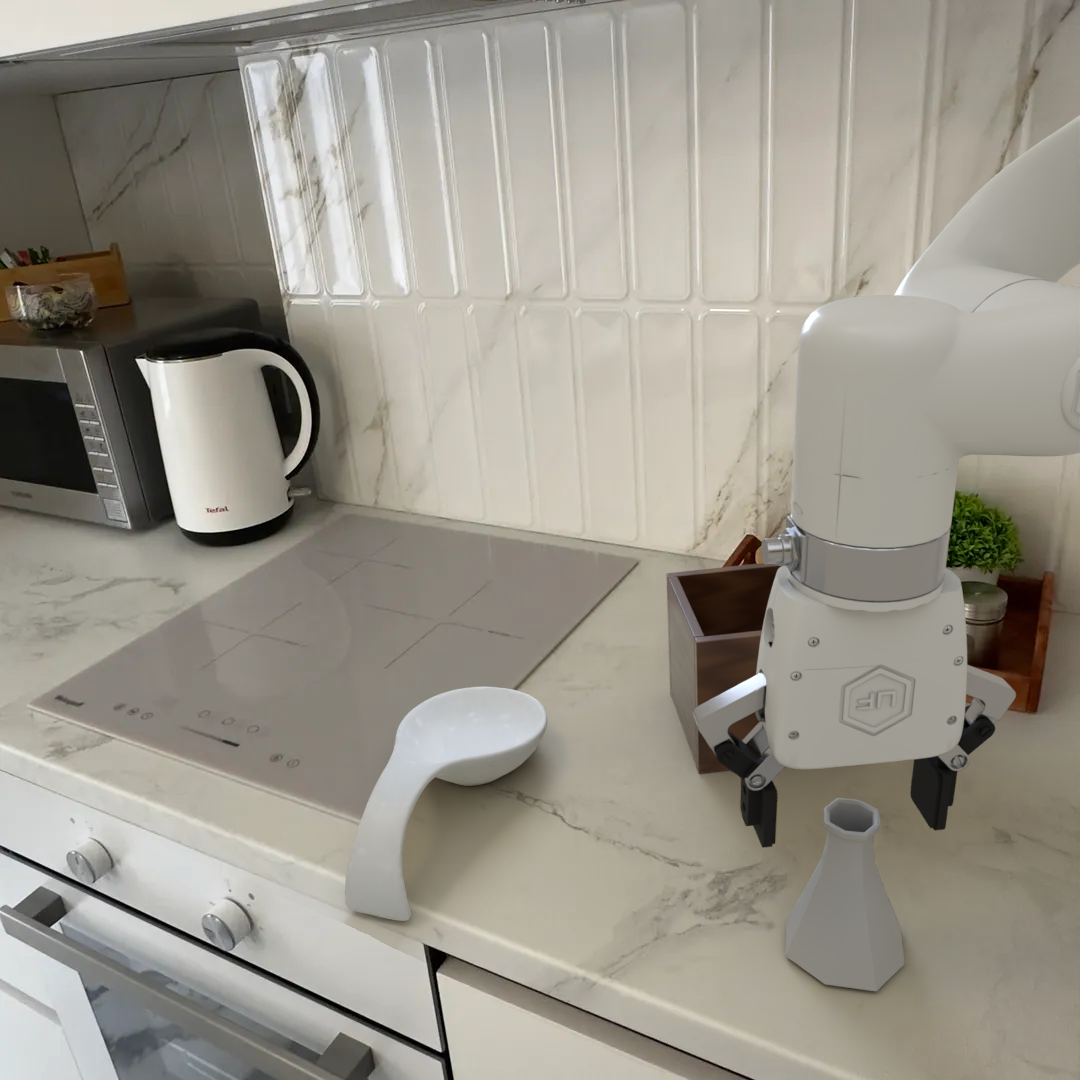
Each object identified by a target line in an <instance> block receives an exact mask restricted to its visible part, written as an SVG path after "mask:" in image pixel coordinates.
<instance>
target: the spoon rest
mask: <svg viewBox="0 0 1080 1080" xmlns="http://www.w3.org/2000/svg"><path fill="white" fill-rule="evenodd" d="M547 726H548V714H547V711H546V709H545V707H544V706H543V704H542V703H541V702H540V701H539V700H538V699H536V698H535V697H534V696H533V695H530V694H527V693H525V692H523V691H519V690H516V689H511V688H505V687H495V686H472V687H471V686H469V687H464V688H463V687H461V688H457V689H452V690H449V691H446V692H441V693H439V694H435V696H432V697H430V698H428V699H425V700H424V701H422V702H421V703H419V704H417V705H416V706H415V707H414V708H412V709H411V710H410V711H409V712H407V714H406V715H405V716H404V717H403V718H402V720H401V722H400V723H399V725H398V727H397V730H396V734H395V739H394V743H393V745H394V746H393V751H392V753H391V756H390V758H389V760H388V762H387V764H386V766H385V767H384V769H383V770H382V772H381V774H380V775H379V777H378V779H377V781H376V783H375V785H374V787H373V789H372V791H371V794H370V796H369V798H368V800H367V803H366V806H365V807H364V810H363V813H362V816H361V818H360V821H359V824H358V828H357V830H356V833H355V837H354V839H353V842H352V846H351V851H350V854H349V859H348V864H347V869H346V874H345V875H346V876H345V887H344V900H345V905H346V908H347V909H349V910H350V911H353V912H356V913H357V912H358V913H360V914H366V915H369V916H370V915H371V916H374V917H378V918H383V919H386V920H392V921H399V922H406V921H407V922H408V921H409V920H410V919H411V917H412V913H411V908H410V902H409V899H408V893H407V889H406V885H405V878H404V872H403V871H404V870H403V848H404V840H405V836H406V835H405V834H406V831H407V827H408V825H409V821H410V818H411V815H412V814H413V811H414V809H415V806H416V804H417V802H418V800H419V798H420V797H421V795H422V793H423V791H424V790H425V789H426V787H428V785H429V784H430V783H431V782H432V781H433V780H434V779H435V778H437V779H440V780H442V781H445V782H448V783H452V784H456V785H459V786H464V787H465V786H466V787H467V786H471V787H473V786H481V785H485V784H490V783H491V782H494V781H496V780H498V779H500V778H502V777H503V776H506V775H508V774H509V773H511V772H513V771H514V770H516V769H517V768H518V767H520V766H521V765H522V764H524V763H525V762H526V760H528V759H529V758H530V757H531V756H532V754H533V753H534V752H535V751H536V750H537V748H538V747H539V745H540V743H541V741H542V740H543V738H544V734H545V732H546V729H547Z"/></svg>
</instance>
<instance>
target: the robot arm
mask: <svg viewBox="0 0 1080 1080" xmlns="http://www.w3.org/2000/svg"><path fill="white" fill-rule="evenodd" d="M1078 265H1080V114H1079V115H1077V116H1076V117H1074V118H1073V119H1072V120H1070V121H1069V122H1067V123H1066V124H1065V125H1063V126H1062V127H1060V128H1058V129H1057V130H1056V131H1054V132H1053V133H1051V134H1049V135H1047V136H1046V137H1045V138H1043V139H1042V140H1041V141H1039V142H1038V143H1037V144H1035V145H1033V146H1031V147H1030V148H1029V149H1027V150H1026V151H1025V152H1023V153H1022V154H1021V155H1019V156H1018V157H1017V158H1015V159H1014V160H1012V161H1011V162H1010V163H1008V164H1007V165H1006V166H1004V167H1003V169H1001V170H1000V171H999V172H997V173H996V174H995V175H994V176H993V177H991V178H990V179H989V180H988V181H987V182H986V183H984V185H982V187H981V188H979V189H978V190H977V191H976V192H975V193H974V194H973V195H972V196H971V197H970V198H969V200H968V201H966V203H965V204H964V205H963V206H962V207H961V208H960V209H959V210H958V211H957V213H956V214H955V215H954V216H953V218H951V220H950V221H949V222H948V223H947V224H946V225H945V227H944V228H943V229H942V230H941V231H940V233H939V234H938V235H937V236H936V237H935V239H934V240H933V241H932V242H931V244H929V246H927V248H926V249H925V250H924V251H923V253H921V255H920V257H918V259H917V260H916V261H915V263H914V264H913V265H912V267H911V268H910V269H909V270H908V272H907V273H906V275H905V276H904V278H903V279H902V280H901V282H900V284H899V286H898V287H897V289H896V290H895V292H894V294H877V295H875V294H874V295H861V296H852V297H846V298H841V299H837V300H834V301H833V300H832V301H830V302H828V303H825V304H823V305H821V306H819V307H817V308H815V310H813V311H812V312H811V313H810V314H809V315H808V316H807V318H806V319H805V320H804V322H803V324H802V327H801V329H800V334H799V337H798V338H799V339H798V340H799V341H798V350H797V368H796V389H795V409H794V410H795V412H794V434H793V436H794V437H793V455H792V476H791V478H792V479H791V497H790V498H791V499H790V501H791V502H790V515H786V517H785V528H784V530H783V532H782V533H781V534H777V535H776V536H775V537H767V538H766V537H765V538H763V539H761V546H760V549H761V551H760V552H761V558H762V561H763V562H762V563H765V564H766V565H771V564H779V565H780V566H782V567H780V568H779V569H778V571H777V573H776V576H775V579H774V582H773V586H772V589H771V593H770V596H769V600H768V604H767V608H766V613H765V617H764V622H763V628H762V633H761V639H760V646H759V654H758V661H757V671H756V675H755V676H753V677H751V678H750V679H748V680H746V681H744V682H742V683H740V684H738V685H736V686H735V687H733V688H731V689H729V690H727V691H725V692H723V693H721V694H720V695H718V696H716V697H714V698H712V699H710V700H708V701H706V702H705V703H703V704H701V705H699V706H697V707H696V708H695V709H694V711H693V716H694V719H695V722H696V724H697V727H698V730H699V731H700V733H701V734H702V736H703V737H704V739H705V740H706V742H707V743H708V745H709V746H710V748H711V749H712V750H713V752H714V754H715V755H716V757H717V759H718V761H719V762H720V763H721V764H723V765H724V766H725V767H727V768H728V769H729V770H728V771H730V772H732V773H734V775H736V776H737V777H739V778H740V797H739V801H740V803H739V807H740V814H741V818H742V821H743V824H744V826H745V827H753V828H754V831H755V834H756V836H757V838H758V841H759V844H760V846H761V848H773V845H775V844H776V838H777V820H778V819H777V818H778V797H779V796H778V790H777V787H776V785H775V784H774V781H773V779H775V778H776V776H777V775H778V774H780V773H781V772H782V771H783V769H785V767H786V768H789V769H794V770H821V769H833V768H842V767H843V768H844V767H853V766H854V767H855V766H862V765H863V766H865V765H873V764H885V763H893V762H894V763H895V762H904V761H913V766H912V772H911V773H912V774H911V782H910V784H911V785H910V792H909V795H910V799H911V801H912V802H913V804H914V805H915V807H916V809H917V810H918V812H919V813H920V815H921V816H922V818H923V820H924V821H925V823H926V824H927V826H928V827H929V829H933V831H943V830H945V829H946V826H947V818H948V811H949V807H952V806H953V805H954V799H955V792H956V785H957V779H958V778H957V777H958V772H959V771H963V770H965V769H966V768H967V767H968V766H969V764H970V761H971V760H970V759H971V758H970V756H969V755H971V754H972V753H973V752H974V751H975V750H977V749H978V748H979V747H980V746H982V745H983V744H984V743H985V742H986V741H987V740H988V739H989V738H991V737H992V736H993V735H994V733H995V731H996V725H995V724H996V723H997V721H999V722H1000V720H1002V718H1003V716H1004V715H1005V714H1006V712H1007V711H1008V709H1009V708H1010V707H1011V705H1012V704H1013V702H1014V701H1015V699H1016V698H1017V693H1016V691H1015V689H1014V688H1013V687H1012V686H1011V685H1010V684H1009V683H1008V682H1007V681H1006V680H1005V679H1004V678H1002V677H1001V676H998V675H996V674H993V673H991V672H988V671H985V670H983V669H980V668H978V667H974V666H972V665H969V664H968V638H967V636H968V635H967V623H966V610H965V609H966V608H965V600H964V593H963V587H962V581H961V578H960V577H959V576H958V575H957V573H954V572H953V571H952V570H950V569H949V568H948V567H947V563H948V562H947V560H948V555H949V554H948V553H949V544H950V537H951V536H950V535H951V529H952V528H951V527H952V522H953V521H952V520H953V513H954V505H955V504H954V503H955V495H956V488H957V487H956V486H957V478H958V470H959V461H960V460H961V459H963V458H964V457H966V456H970V455H971V456H972V455H976V456H978V455H979V456H980V455H982V456H1014V457H1064V456H1069V455H1070V456H1071V455H1076V454H1080V286H1074V285H1069V284H1065V283H1061V282H1060V283H1059V282H1058V281H1059V280H1061V279H1062V278H1063V277H1064V276H1066V274H1068V273H1069V272H1070V271H1071V270H1073V269H1074V268H1075V267H1078ZM967 696H969V697H971V698H972V700H971V701H970V703H971V704H969V705H966V704H967ZM754 712H755V714H756V717H757V719H758V721H759V723H758V724H757V725H756V726H755V727H754V728H753V729H752V731H751V732H750V733H749V734H748V735H747V736H746V737H745V738H744V739H743V740H742V741H741V740H740V739H739V738H737V737H736V736H735V735H733V734H732V733H731V732H730V731H728V728H729V727H730V726H731V725H732V724H733V723H735V722H737V721H739V720H741V719H743V718H745V717H747V716H749V715H750V714H752V713H754ZM769 746H770V747H769ZM768 747H769V748H768ZM767 748H768V749H767ZM766 749H767V750H766ZM765 750H766V751H765ZM764 751H765V752H764ZM763 752H764V753H763ZM762 753H763V754H762ZM761 754H762V755H761Z"/></svg>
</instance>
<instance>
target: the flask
mask: <svg viewBox="0 0 1080 1080" xmlns="http://www.w3.org/2000/svg"><path fill="white" fill-rule="evenodd" d="M823 827H824V830H825V831H826V832H827V833H826V834H827V835H826V839H825V843H824V847H823V851H822V854H821V857H820V859H819V861H818V863H817V865H816V867H815V868H814V870H813V872H812V874H811V876H810V878H809V880H808V882H807V884H805V885H806V886H805V887H804V889H803V890H802V892H801V894H800V896H799V897H798V899H797V900H796V902H795V904H794V905H793V907H792V908H791V910H790V912H789V914H788V916H787V918H786V919H785V947H784V949H785V951H784V956H785V957H786V958H788V959H789V960H790V961H792V962H793V963H794V964H796V965H797V966H799V967H800V968H801V969H803V970H804V971H805V972H807V973H808V974H809V975H811V976H812V977H814V978H815V979H817V980H818V981H819V982H821V983H822V984H824V985H825V986H826V985H827V986H834V987H841V988H849V989H856V990H862V991H863V990H864V991H870V992H878V991H879V990H880V989H881V988H882V987H883V986H884V985H885V984H886V983H887V982H889V980H890V979H891V978H892V977H893V976H894V975H895V974H896V973H897V972H898V971H899V970H901V968H902V967H903V966H905V955H904V946H903V936H902V927H901V924H900V922H899V919H898V916H897V914H896V912H895V909H894V907H893V905H892V902H891V899H890V897H889V895H888V892H887V889H886V887H885V884H884V882H883V879H882V876H881V873H880V870H879V867H878V865H877V862H876V857H875V849H874V845H875V844H874V843H875V835H877V833H879V832H880V829H881V820H880V810H879V809H877V808H876V807H874V806H872V805H870V804H868V803H867V802H865V801H863V800H861V799H854V798H845V797H836V798H835V799H834V800H832V801H831V802H830V803H829V804H828V803H827V805H826V806H825V807H823Z"/></svg>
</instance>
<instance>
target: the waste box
mask: <svg viewBox="0 0 1080 1080" xmlns="http://www.w3.org/2000/svg"><path fill="white" fill-rule="evenodd" d="M780 567H782V566H780V565H779V564H771V565H766V564H765V563H764V562H761V563H760V562H759V563H752V564H751V563H750V564H743V565H741V564H739V565H732V566H731V565H730V566H722V567H713V568H705V569H694V570H693V569H692V570H685V571H683V570H682V571H675V572H666V574H665V575H666V604H667V605H666V607H667V635H668V637H667V639H668V666H669V667H668V668H669V669H668V671H669V693H670V696H671V699H672V702H673V704H674V708H675V710H676V713H677V715H678V719H679V722H680V724H681V727H682V730H683V733H684V736H685V738H686V741H687V744H688V748H689V750H690V753H691V755H692V756H691V757H692V758H693V761H694V764H695V767H696V770H697V772H698V774H705V773H706V774H707V773H717V772H726V771H730V770H729V769H728V768H727V767H725V766H724V765H723V764H721V763H720V762H719V761H718V759H717V757H716V755H715V754H714V752H713V750H712V749H711V748H710V746H709V745H708V743H707V742H706V740H705V739H704V737H703V736H702V734H701V733H700V731H699V730H698V727H697V724H696V722H695V719H694V716H693V711H694V709H695V708H696V707H697V706H699V705H701V704H703V703H705V702H706V701H708V700H710V699H712V698H714V697H716V696H718V695H720V694H721V693H723V692H725V691H727V690H729V689H731V688H733V687H735V686H736V685H738V684H740V683H742V682H744V681H746V680H748V679H750V678H751V677H753V676H755V675H756V671H757V661H758V654H759V646H760V639H761V633H762V628H763V622H764V617H765V613H766V608H767V604H768V600H769V596H770V593H771V589H772V586H773V582H774V579H775V576H776V573H777V571H778V569H779V568H780ZM758 723H759V721H758V719H757V717H756V714H755V712H754V713H752V714H750V715H749V716H747V717H745V718H743V719H741V720H739V721H737V722H735V723H733V724H732V725H731V726H730V727H729V728H728V731H730V732H731V733H732V734H733V735H735V736H736V737H737V738H739V739H740V740H741V741H742V740H743V739H744V738H745V737H746V736H747V735H748V734H749V733H750V732H751V731H752V729H753V728H754V727H755V726H756V725H757V724H758ZM769 747H770V746H769ZM769 747H768V748H769ZM768 748H767V749H768ZM767 749H766V750H767ZM766 750H765V751H766ZM765 751H764V752H765ZM764 752H763V753H764ZM763 753H762V754H763ZM762 754H761V755H762Z"/></svg>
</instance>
